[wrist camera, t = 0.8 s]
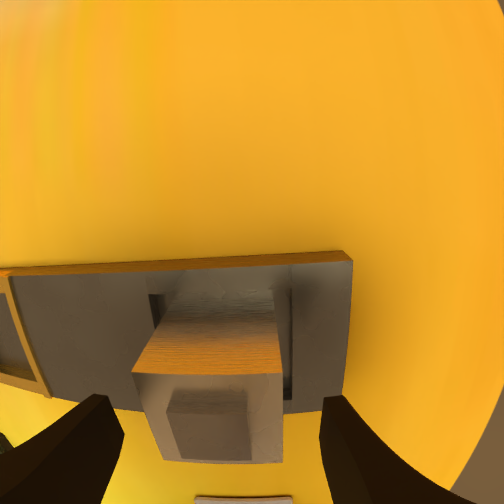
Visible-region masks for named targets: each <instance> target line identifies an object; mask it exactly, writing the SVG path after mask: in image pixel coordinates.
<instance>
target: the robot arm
mask: <svg viewBox="0 0 504 504" xmlns="http://www.w3.org/2000/svg"><path fill="white" fill-rule="evenodd" d="M124 435H125V434H124V432H123V429H122V427H121V425H120V423H119V421H118V418H117V416H116V414H115V412H114V409H113V407H112V405H111V402H110V400H109V397H108V395H100V394H94V393H93V394H92V395H91V396H89V397H88V398H86V399H85V400H83V401H82V402H81V403H79V404H78V405H77V406H76V407H74V408H73V409H72V410H70V411H69V412H68V413H66V414H65V415H64V416H62V417H61V418H60V419H58V420H57V421H56V422H54V423H53V424H52V425H50V426H49V427H47V428H46V429H44V430H43V431H41V432H40V433H38V434H37V435H35V436H34V437H32V438H31V439H29V440H28V441H26V442H24V443H22V444H21V445H19V446H17V447H15V448H13V449H11V450H9V451H7V452H5V453H2V454H0V504H101V501H102V499H103V496H104V494H105V491H106V489H107V486H108V484H109V481H110V479H111V476H112V474H113V471H114V469H115V466H116V464H117V461H118V459H119V456H120V452H121V448H122V444H123V439H124ZM319 441H320V449H321V456H322V462H323V466H324V470H325V474H326V478H327V481H328V485H329V489H330V492H331V496H332V500H333V503H334V504H476V503H473V502H471V501H469V500H466V499H464V498H462V497H460V496H458V495H456V494H454V493H452V492H450V491H448V490H446V489H445V488H443V487H441V486H439V485H437V484H436V483H434V482H433V481H431V480H429V479H428V478H426V477H425V476H423V475H422V474H421V473H419V472H418V471H417V470H415V469H414V468H412V467H411V466H410V465H409V464H407V463H406V462H405V461H404V460H403V459H401V458H400V457H399V456H398V455H397V454H396V453H395V452H394V451H393V450H391V449H390V448H389V447H388V446H387V445H386V444H385V443H384V442H383V441H382V440H381V439H380V438H379V437H378V436H377V435H376V433H375V432H374V431H373V430H372V429H371V428H370V427H369V426H368V425H367V424H366V423H365V421H364V420H363V419H362V418H361V417H360V415H359V414H358V413H357V412H356V411H355V409H354V408H353V407H352V406H351V404H350V403H349V402H348V400H347V399H346V398H345V397H344V396H343V395H338V396H330V397H324V398H323V408H322V417H321V425H320V433H319ZM194 502H195V504H293V499H292V498H291V497H276V498H209V497H196V498H195V500H194Z"/></svg>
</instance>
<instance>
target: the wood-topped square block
mask: <svg viewBox="0 0 504 504" xmlns="http://www.w3.org/2000/svg"><path fill="white" fill-rule="evenodd" d="M131 374H132V377H133V380H134V383H135V386H136V389H137V392H138V395H139V398H140V401H141V404H142V406H143V409H144V412H145V415H146V417H147V420H148V423H149V425H150V428H151V430H152V433H153V435H154V438H155V440H156V443H157V445H158V448H159V450H160V452H161V455H162V457H163V459H164V460H170V461H180V462H193V463H212V464H263V463H282V462H283V372H282V363H281V355H280V347H279V340H278V332H277V324H276V316H275V309H274V301H273V297H260V298H240V299H216V300H183V301H172V303H171V305H170V306H169V308H168V310H167V311H166V313H165V315H164V316H163V318H162V320H161V321H160V323H159V325H158V326H157V328H156V330H155V331H154V333H153V335H152V336H151V338H150V340H149V341H148V343H147V345H146V347H145V348H144V350H143V352H142V353H141V355H140V357H139V359H138V360H137V362H136V364H135V366H134V367H133V369H132V371H131Z"/></svg>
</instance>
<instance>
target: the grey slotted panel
mask: <svg viewBox="0 0 504 504" xmlns="http://www.w3.org/2000/svg"><path fill="white" fill-rule="evenodd" d="M352 272H353V260H352V259H351V258H350V257H349V256H348V255H347V254H346V253H344V252H343V251H327V252H309V253H291V254H273V255H255V256H236V257H217V258H198V259H179V260H160V261H140V262H121V263H101V264H80V265H60V266H39V267H17V268H0V382H1V383H4V384H7V385H10V386H14V387H17V388H20V389H24V390H27V391H31V392H35V393H39V394H43V395H44V397H46V398H50V399H52V397H55V398H60V399H64V400H69V401H74V402H79V403H81V402H82V401H83V400H85V399H86V398H88V397H89V396H91V395H92V394H93V393H94V394H100V395H108V397H109V400H110V402H111V405H112V407H113V408H115V409H123V410H131V411H140V412H144V409H143V406H142V404H141V401H140V398H139V395H138V392H137V389H136V386H135V383H134V380H133V377H132V374H131V371H132V369H133V367H134V366H135V364H136V362H137V360H138V359H139V357H140V355H141V353H142V352H143V350H144V348H145V347H146V345H147V343H148V341H149V340H150V338H151V336H152V335H153V333H154V331H155V330H156V328H157V326H158V325H159V323H160V321H161V320H162V318H163V316H164V315H165V313H166V311H167V310H168V308H169V306H170V305H171V303H172V301H183V300H216V299H240V298H260V297H273V301H274V309H275V316H276V324H277V332H278V340H279V347H280V355H281V363H282V372H283V414H292V413H303V412H313V411H322V408H323V398H324V397H330V396H338V395H342V387H343V380H344V372H345V363H346V354H347V344H348V333H349V322H350V308H351V292H352Z"/></svg>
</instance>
